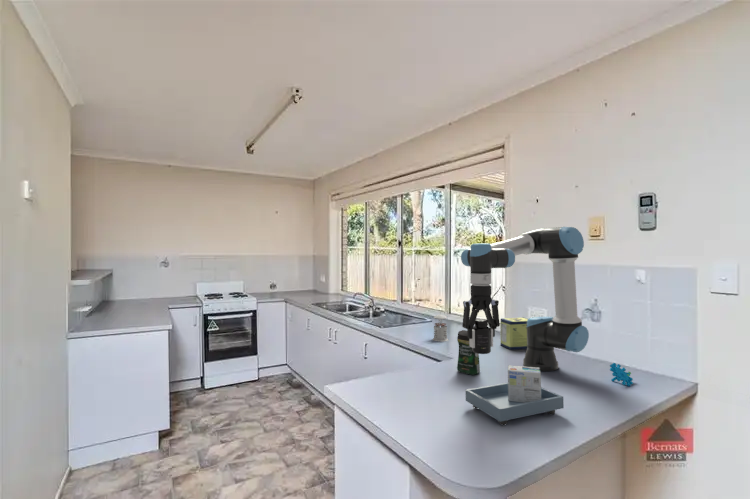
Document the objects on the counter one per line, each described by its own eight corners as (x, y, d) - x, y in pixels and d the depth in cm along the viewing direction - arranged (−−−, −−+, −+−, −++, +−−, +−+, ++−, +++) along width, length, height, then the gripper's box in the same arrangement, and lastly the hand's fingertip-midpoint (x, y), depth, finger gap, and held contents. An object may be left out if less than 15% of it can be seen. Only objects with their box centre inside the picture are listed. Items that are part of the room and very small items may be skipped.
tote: (465, 407, 135) (465, 389, 135) (524, 396, 145) (523, 379, 145) (500, 429, 119) (500, 409, 119) (563, 415, 128) (563, 396, 128)
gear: (623, 384, 152) (607, 361, 159) (611, 391, 156) (597, 369, 163) (640, 384, 157) (624, 362, 163) (629, 391, 160) (614, 369, 167)
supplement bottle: (470, 349, 148) (469, 318, 148) (488, 349, 147) (488, 318, 147) (474, 354, 141) (473, 321, 141) (493, 354, 141) (492, 321, 141)
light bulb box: (540, 397, 135) (540, 367, 135) (541, 405, 129) (541, 372, 129) (508, 394, 139) (507, 364, 139) (507, 401, 132) (507, 369, 132)
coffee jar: (454, 372, 174) (454, 331, 174) (462, 368, 180) (462, 328, 180) (474, 376, 168) (474, 333, 168) (482, 372, 174) (482, 330, 174)
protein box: (535, 348, 215) (535, 320, 215) (510, 350, 212) (509, 321, 212) (524, 343, 225) (524, 317, 225) (499, 345, 222) (499, 318, 222)
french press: (432, 341, 233) (431, 299, 233) (432, 336, 244) (432, 297, 244) (448, 341, 231) (448, 300, 231) (448, 337, 243) (448, 297, 243)
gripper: (461, 286, 138) (461, 351, 138) (510, 284, 143) (510, 347, 143) (452, 284, 145) (452, 345, 145) (498, 283, 150) (499, 342, 150)
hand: (481, 346), depth 144 cm, fingers closed on supplement bottle, 7 cm apart
